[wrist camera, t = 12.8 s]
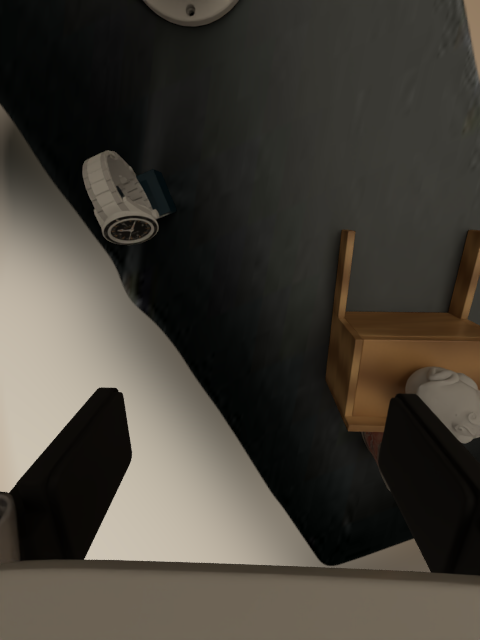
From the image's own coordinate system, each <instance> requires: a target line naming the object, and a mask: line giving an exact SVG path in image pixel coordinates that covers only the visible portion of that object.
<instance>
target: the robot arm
mask: <svg viewBox="0 0 480 640" xmlns="http://www.w3.org/2000/svg"><path fill="white" fill-rule="evenodd" d="M143 1H144V2H145V3H146V4H147V6H148V7H149V8H150V9H152V10H153V11H154V12H155V13H156V14H157V15H159V16H160V17H162V18H164V19H166V20H167V21H169V22H171V23H174V24H178V25H181V26H194V27H196V26H201V25H206V24H209V23H211V22H213V21H216V20H218V19H220V18H221V17H222V16H224V15H225V14H226V13H228V12H229V11H230V10H231V9H232V8H233V7H234V6H235V4H236V3H237V2H238V1H239V0H143ZM191 13H194V15H193V16H190V14H191ZM131 458H132V450H131V444H130V437H129V431H128V424H127V418H126V411H125V404H124V398H123V394H122V393H121V392H118V390H117V388H99V389H97V390H96V392H95V393H94V394H93V395H92V396H91V397H90V398H89V400H88V401H87V402H86V403H85V404H84V406H83V407H82V408H81V409H80V410H79V411H78V412H77V413H76V415H75V416H74V417H73V418H72V419H71V420H70V422H69V423H68V424H67V425H66V426H65V427H64V429H63V430H62V431H61V432H60V433H59V434H58V436H57V437H56V438H55V439H54V440H53V441H52V443H51V444H50V445H49V446H48V447H47V448H46V450H45V451H44V452H43V453H42V454H41V455H40V456H39V458H38V459H37V460H36V461H35V462H34V464H33V465H32V466H31V467H30V468H29V469H28V470H27V472H26V473H25V474H24V475H23V476H22V477H21V479H20V480H19V481H18V482H17V484H16V485H15V487H14V488H13V489H12V490H11V491H10V492H9V493H7V492H0V640H480V464H479V462H478V461H477V460H476V459H475V458H474V457H473V456H472V455H471V454H470V452H469V451H468V450H467V449H466V448H465V447H464V446H463V445H462V444H461V443H460V441H459V440H458V439H457V438H456V437H455V436H454V435H453V434H452V433H451V431H450V430H449V429H448V428H447V427H446V426H445V425H444V424H443V423H442V421H441V420H440V419H439V418H438V417H437V416H436V415H435V414H434V413H433V412H432V410H431V409H430V408H429V407H428V406H427V405H426V404H425V403H424V402H423V400H422V399H421V398H420V397H419V396H418V395H417V394H405V393H398V394H396V396H395V398H391V399H390V403H389V408H388V413H387V418H386V423H385V428H384V433H383V438H382V443H381V448H380V453H379V458H378V463H379V468H380V471H381V473H382V475H383V477H384V479H385V481H386V483H387V485H388V487H389V489H390V491H391V493H392V495H393V497H394V499H395V501H396V503H397V505H398V507H399V509H400V511H401V513H402V515H403V517H404V519H405V521H406V523H407V525H408V527H409V529H410V531H411V533H412V535H413V537H414V539H415V541H416V543H417V545H418V547H419V549H420V551H421V553H422V555H423V557H424V559H425V561H426V563H427V565H428V567H429V569H430V571H431V573H429V572H413V571H391V570H369V569H368V570H367V569H346V568H321V567H298V566H271V565H245V564H218V563H217V564H216V563H215V564H214V563H188V562H156V561H153V562H152V561H123V560H84V558H85V556H86V554H87V552H88V550H89V548H90V546H91V544H92V542H93V540H94V538H95V535H96V533H97V531H98V529H99V527H100V525H101V523H102V521H103V519H104V517H105V515H106V512H107V510H108V508H109V506H110V504H111V502H112V500H113V498H114V496H115V494H116V492H117V489H118V487H119V485H120V483H121V481H122V479H123V477H124V475H125V473H126V471H127V469H128V466H129V464H130V462H131Z"/></svg>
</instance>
